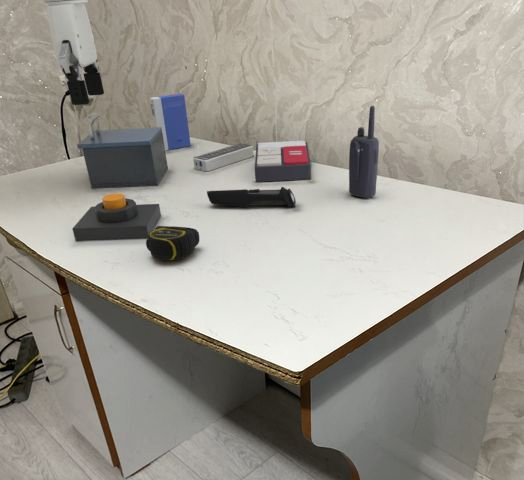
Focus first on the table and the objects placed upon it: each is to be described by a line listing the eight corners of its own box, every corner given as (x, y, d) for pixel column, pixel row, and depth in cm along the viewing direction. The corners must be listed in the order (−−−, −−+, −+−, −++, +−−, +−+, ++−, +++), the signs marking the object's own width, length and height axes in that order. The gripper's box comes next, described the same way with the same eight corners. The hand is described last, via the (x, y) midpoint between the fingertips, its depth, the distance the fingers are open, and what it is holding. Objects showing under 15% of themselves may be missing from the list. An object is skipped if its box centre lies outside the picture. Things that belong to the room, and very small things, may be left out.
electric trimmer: (211, 203, 98) (208, 186, 96) (296, 201, 96) (295, 183, 94) (207, 211, 95) (204, 193, 93) (294, 208, 93) (294, 190, 91)
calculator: (254, 163, 104) (256, 140, 115) (255, 185, 106) (257, 160, 118) (311, 160, 103) (307, 137, 115) (311, 182, 106) (307, 157, 118)
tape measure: (203, 247, 81) (200, 224, 79) (185, 267, 76) (181, 242, 74) (162, 244, 83) (158, 221, 81) (141, 263, 78) (136, 239, 75)
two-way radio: (379, 196, 95) (386, 105, 87) (363, 202, 93) (367, 110, 85) (356, 189, 99) (360, 101, 90) (339, 195, 97) (342, 106, 88)
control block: (75, 241, 86) (69, 217, 84) (94, 218, 94) (88, 196, 92) (148, 238, 85) (144, 214, 83) (161, 215, 93) (157, 193, 91)
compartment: (91, 188, 109) (82, 148, 104) (107, 171, 118) (99, 134, 114) (157, 185, 108) (150, 145, 103) (168, 168, 117) (162, 131, 113)
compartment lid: (78, 148, 104) (71, 121, 101) (95, 134, 114) (89, 109, 111) (150, 145, 103) (145, 117, 101) (162, 131, 113) (158, 105, 110)
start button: (101, 211, 86) (99, 201, 85) (107, 204, 89) (105, 193, 88) (123, 210, 86) (121, 200, 85) (129, 203, 89) (127, 192, 88)
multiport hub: (254, 155, 122) (253, 145, 121) (206, 171, 114) (205, 160, 112) (241, 153, 125) (240, 142, 123) (193, 168, 116) (192, 157, 115)
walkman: (187, 143, 135) (180, 91, 128) (190, 146, 133) (184, 93, 126) (157, 149, 132) (148, 96, 125) (160, 151, 130) (151, 97, 123)
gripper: (61, -6, 102) (84, 92, 112) (24, -2, 88) (54, 109, 98) (99, -9, 102) (119, 90, 111) (68, -6, 87) (94, 107, 97)
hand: (89, 99), depth 105 cm, fingers open, 9 cm apart
